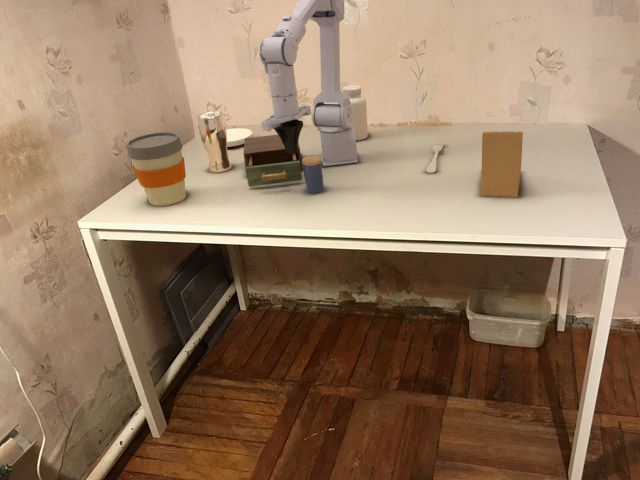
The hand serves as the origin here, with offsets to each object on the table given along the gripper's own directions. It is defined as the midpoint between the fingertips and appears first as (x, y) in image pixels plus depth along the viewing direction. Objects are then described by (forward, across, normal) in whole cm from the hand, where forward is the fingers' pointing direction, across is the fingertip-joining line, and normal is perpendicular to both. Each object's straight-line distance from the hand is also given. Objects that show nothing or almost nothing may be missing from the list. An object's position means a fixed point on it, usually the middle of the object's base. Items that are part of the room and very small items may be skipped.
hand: (291, 152), depth 136 cm
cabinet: (+10, +13, +20) cm, 25 cm away
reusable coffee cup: (+11, -17, +28) cm, 35 cm away
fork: (+11, +36, -18) cm, 41 cm away
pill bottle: (+11, +42, +14) cm, 46 cm away
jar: (+10, +4, -2) cm, 11 cm away
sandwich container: (+11, +27, -41) cm, 50 cm away
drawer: (+10, +4, +11) cm, 15 cm away
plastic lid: (+11, +22, +47) cm, 53 cm away
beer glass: (+11, +4, +32) cm, 34 cm away
